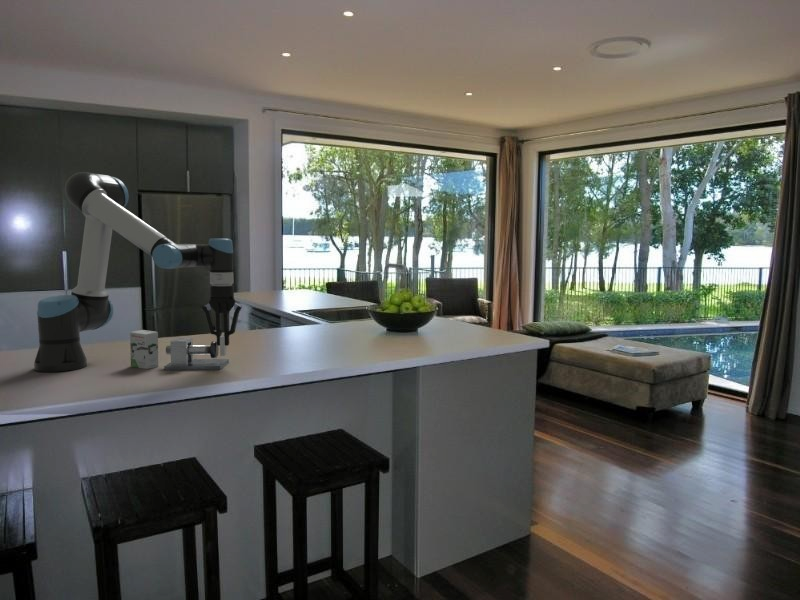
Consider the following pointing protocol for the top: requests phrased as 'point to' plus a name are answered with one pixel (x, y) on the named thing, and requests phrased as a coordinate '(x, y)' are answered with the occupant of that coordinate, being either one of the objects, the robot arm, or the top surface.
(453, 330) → the top surface
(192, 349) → the shaft
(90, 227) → the robot arm
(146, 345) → the ink box
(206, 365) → the rail
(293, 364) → the top surface
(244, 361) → the top surface
